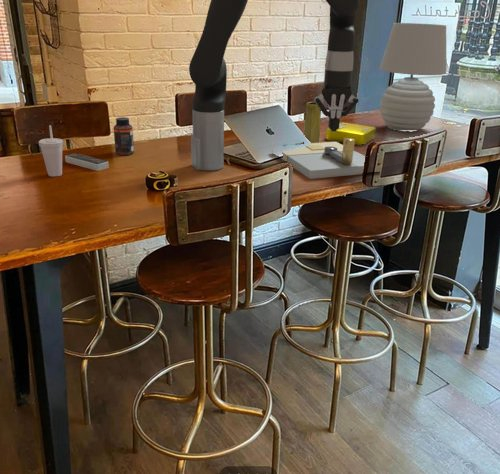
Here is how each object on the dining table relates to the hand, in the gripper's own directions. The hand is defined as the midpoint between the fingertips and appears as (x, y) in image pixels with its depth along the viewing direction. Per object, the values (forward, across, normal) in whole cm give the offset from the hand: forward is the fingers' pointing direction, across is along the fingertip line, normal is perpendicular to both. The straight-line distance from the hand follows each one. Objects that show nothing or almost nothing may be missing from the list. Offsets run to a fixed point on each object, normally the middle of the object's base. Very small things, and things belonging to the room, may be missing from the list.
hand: (333, 130), depth 150 cm
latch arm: (+10, +4, +6) cm, 12 cm away
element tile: (+14, +19, +44) cm, 50 cm away
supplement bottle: (+13, -63, +22) cm, 68 cm away
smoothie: (+12, -80, 0) cm, 80 cm away
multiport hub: (+13, -72, +9) cm, 74 cm away
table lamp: (+14, +45, +59) cm, 76 cm away
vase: (+13, +2, +36) cm, 39 cm away
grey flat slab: (+13, +1, +12) cm, 18 cm away
